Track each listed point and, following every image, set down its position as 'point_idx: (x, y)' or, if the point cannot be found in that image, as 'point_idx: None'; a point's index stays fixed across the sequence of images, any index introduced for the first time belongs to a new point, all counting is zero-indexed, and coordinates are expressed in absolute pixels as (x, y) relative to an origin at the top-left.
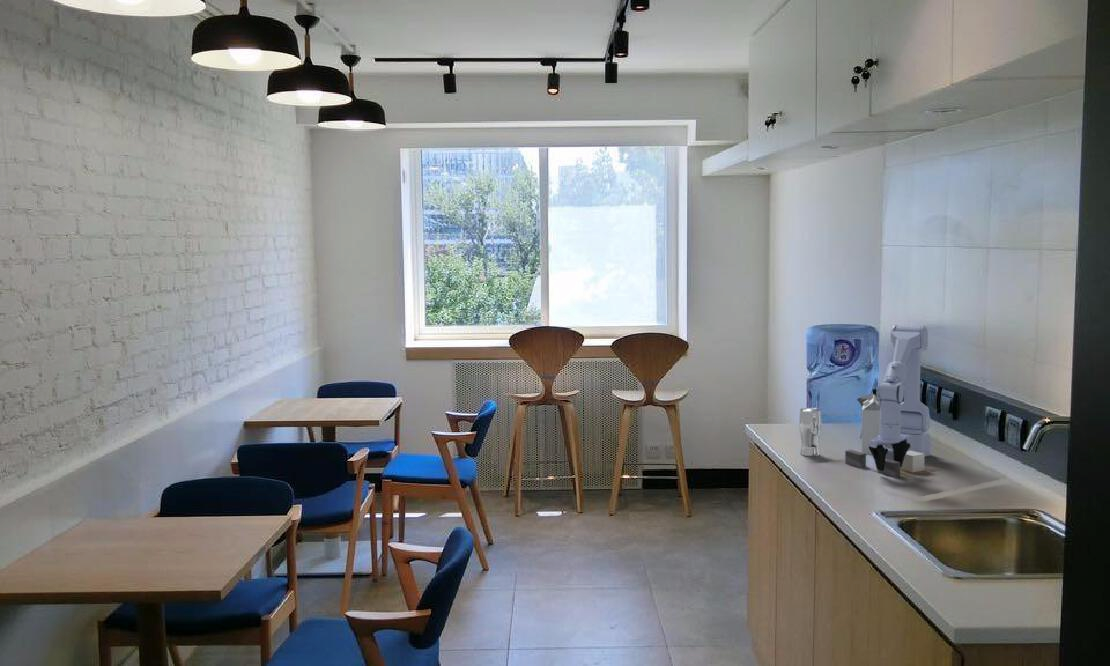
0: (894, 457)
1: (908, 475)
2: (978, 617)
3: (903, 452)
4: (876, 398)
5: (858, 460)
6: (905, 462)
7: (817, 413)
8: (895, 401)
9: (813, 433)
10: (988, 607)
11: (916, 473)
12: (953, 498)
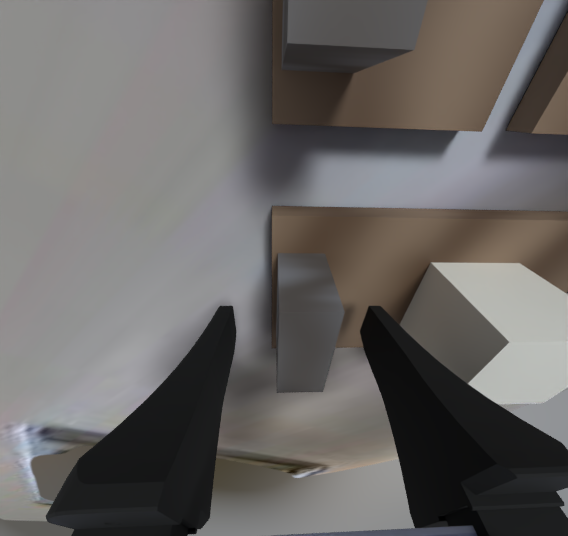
0: (394, 346)
1: (341, 340)
2: (27, 518)
3: (394, 437)
4: None
5: (284, 21)
6: (438, 328)
7: None
8: None
9: None
10: (45, 516)
11: None
12: (272, 427)
